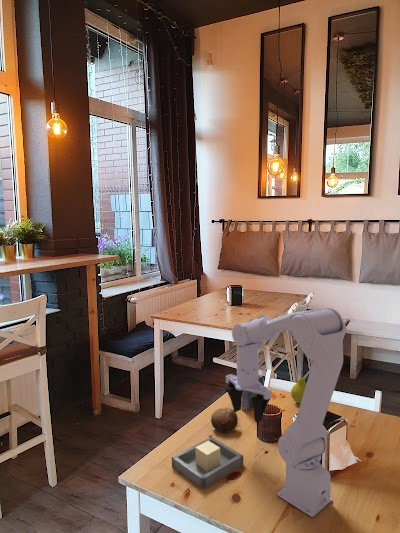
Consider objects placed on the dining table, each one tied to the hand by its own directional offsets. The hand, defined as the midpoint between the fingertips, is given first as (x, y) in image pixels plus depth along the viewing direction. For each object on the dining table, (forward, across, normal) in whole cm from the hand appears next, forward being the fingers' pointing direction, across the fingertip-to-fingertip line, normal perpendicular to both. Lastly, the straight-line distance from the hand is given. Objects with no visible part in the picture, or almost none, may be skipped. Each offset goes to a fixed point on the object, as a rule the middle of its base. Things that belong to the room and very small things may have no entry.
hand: (247, 415), depth 108 cm
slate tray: (+10, -3, -12) cm, 16 cm away
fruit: (+11, -7, +35) cm, 37 cm away
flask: (+11, -17, +21) cm, 29 cm away
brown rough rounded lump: (+11, -13, +4) cm, 17 cm away
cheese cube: (+10, -3, -12) cm, 16 cm away
